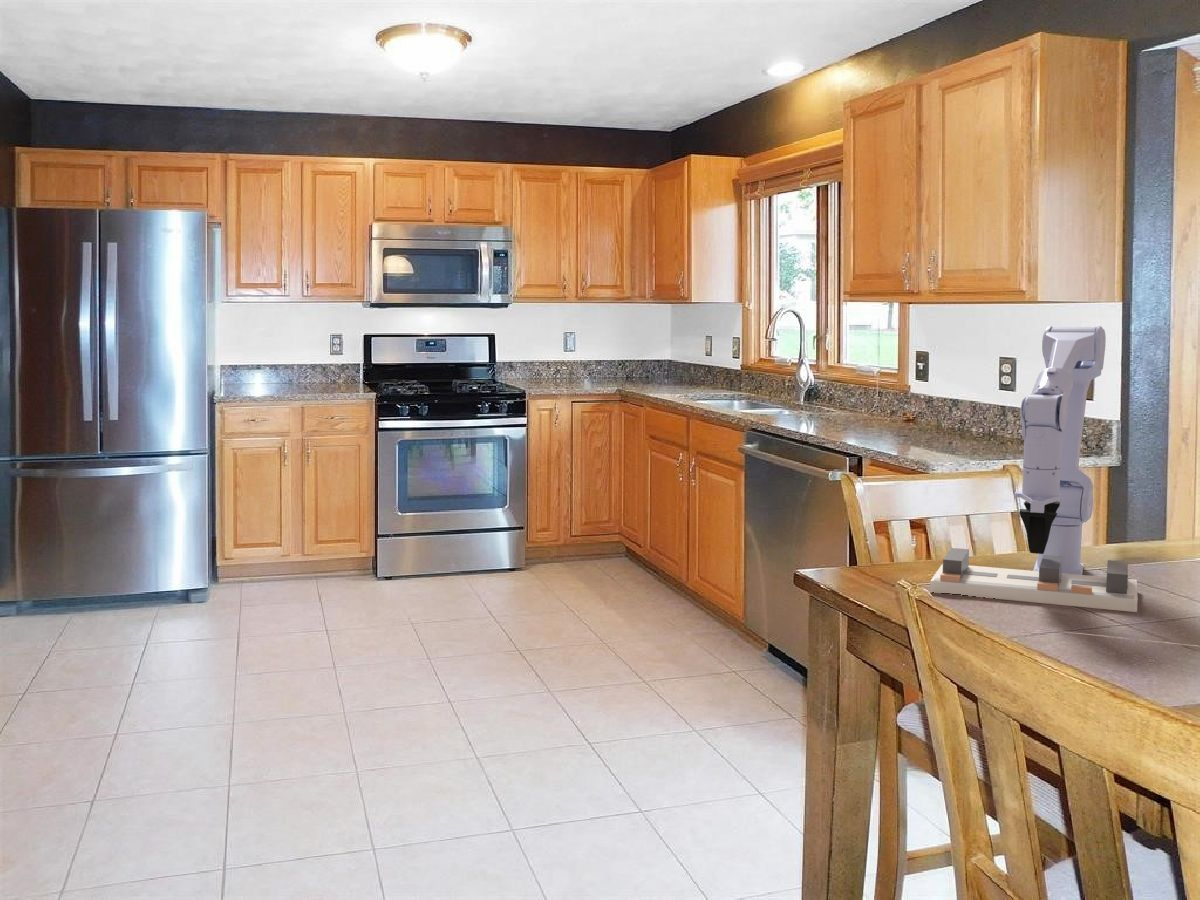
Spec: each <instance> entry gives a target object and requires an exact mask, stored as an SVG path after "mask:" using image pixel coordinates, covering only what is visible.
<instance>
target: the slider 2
mask: <svg viewBox="0 0 1200 900" xmlns="http://www.w3.org/2000/svg"><path fill="white" fill-rule="evenodd" d="M1128 564H1129V563H1128V561H1122V560H1110V559H1107V566H1106V567H1107V568H1106V577H1107V581H1106V592H1116V593H1127V582H1128V579H1129V577H1128V576H1129V570H1128V569H1129V565H1128Z"/></svg>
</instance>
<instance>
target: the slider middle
mask: <svg viewBox="0 0 1200 900" xmlns="http://www.w3.org/2000/svg"><path fill="white" fill-rule="evenodd" d="M1061 575H1062V557H1061V556H1049V555H1043V558H1042V561H1041V564H1040V567H1039V582H1049V583H1058V587H1059V583H1060V579H1061Z"/></svg>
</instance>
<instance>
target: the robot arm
mask: <svg viewBox="0 0 1200 900" xmlns="http://www.w3.org/2000/svg"><path fill="white" fill-rule="evenodd" d="M1041 341H1042V344H1041V352H1042V357H1043V359H1044V364H1045V368H1044V369H1043V370H1041V372H1039V374H1038V375H1037V378H1036V380H1035V384H1034V386H1033V388H1032V391H1031V393H1030V394H1028V396H1027V397H1026V396H1024V397H1023V399H1022V400H1021V405H1020V425H1021V439H1022V440H1023V455H1022V456H1023V459H1022V460H1023V461H1022V464H1023V465H1022V483H1021V484H1022V485H1021V486H1022V487H1021V488H1022V490H1021V491H1015V492H1014V498H1019V499H1022V500H1023V501H1024V502H1023V505H1024V507H1025V508H1020V509H1019V511H1018V513H1019V516H1020V518H1021V520H1022V524H1023V526H1024V528H1025V532H1026V533H1025V534H1026V538H1027V544H1028V545H1027V546H1028V551H1029V553H1030V554H1037V556H1036V557H1037V558H1036V561H1035V563H1034V567H1033V570H1032V571H1039V567H1040V564H1041V561H1042V558H1043V555H1049V556H1061V557H1062V573H1064V574H1076V575H1083V571H1084V566H1085V565H1084V563H1083V562H1081V560H1082V559H1081V558H1082V539H1083V536H1082V535H1083V524H1084V523H1087V522H1088V521H1089V520H1090V519H1091V518H1092V514H1093V508H1094V484H1093V481H1092V479H1091V477H1089V476H1088V474H1086V473H1084V471H1082V470H1081V469H1080V468H1079V466H1080V459H1081V458H1080V457H1081V448H1082V439H1083V431H1084V430H1083V429H1084V421H1085V413H1086V405H1087V398H1088V396H1087V395H1088V391H1089V389H1090V385H1091V381H1092V380H1094V379H1096V378H1099V377H1101V375H1102V370H1103V369H1104V363H1105V362H1104V361H1105V355H1106V354H1105V353H1106V345H1107V344H1106V342H1107V341H1106V331H1105V329H1104V328H1103V327H1102V326H1099V325H1098V326H1088V327H1087V326H1052V325H1051V326H1050V325H1049V326H1047V328H1046V329H1044V331H1043V335H1042V340H1041Z"/></svg>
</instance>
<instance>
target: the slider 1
mask: <svg viewBox="0 0 1200 900" xmlns="http://www.w3.org/2000/svg"><path fill="white" fill-rule="evenodd" d="M969 560H970V549H969V548H958V547H951V548H950V549H949V551H948V552H947V553H946V554H945V556H944V558H943V559H942V564H943V573H947V574H958V575H960V579H961V578H962V576H963V575H964V573H965V571H966V570H967V568H968V566H969V564H970V563H969V562H970V561H969Z"/></svg>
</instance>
